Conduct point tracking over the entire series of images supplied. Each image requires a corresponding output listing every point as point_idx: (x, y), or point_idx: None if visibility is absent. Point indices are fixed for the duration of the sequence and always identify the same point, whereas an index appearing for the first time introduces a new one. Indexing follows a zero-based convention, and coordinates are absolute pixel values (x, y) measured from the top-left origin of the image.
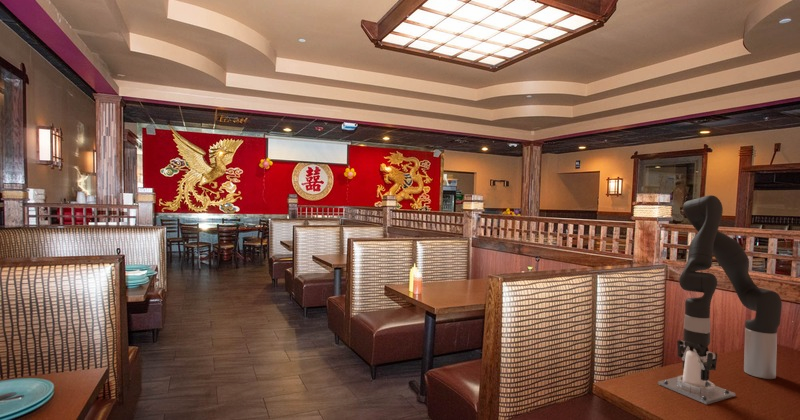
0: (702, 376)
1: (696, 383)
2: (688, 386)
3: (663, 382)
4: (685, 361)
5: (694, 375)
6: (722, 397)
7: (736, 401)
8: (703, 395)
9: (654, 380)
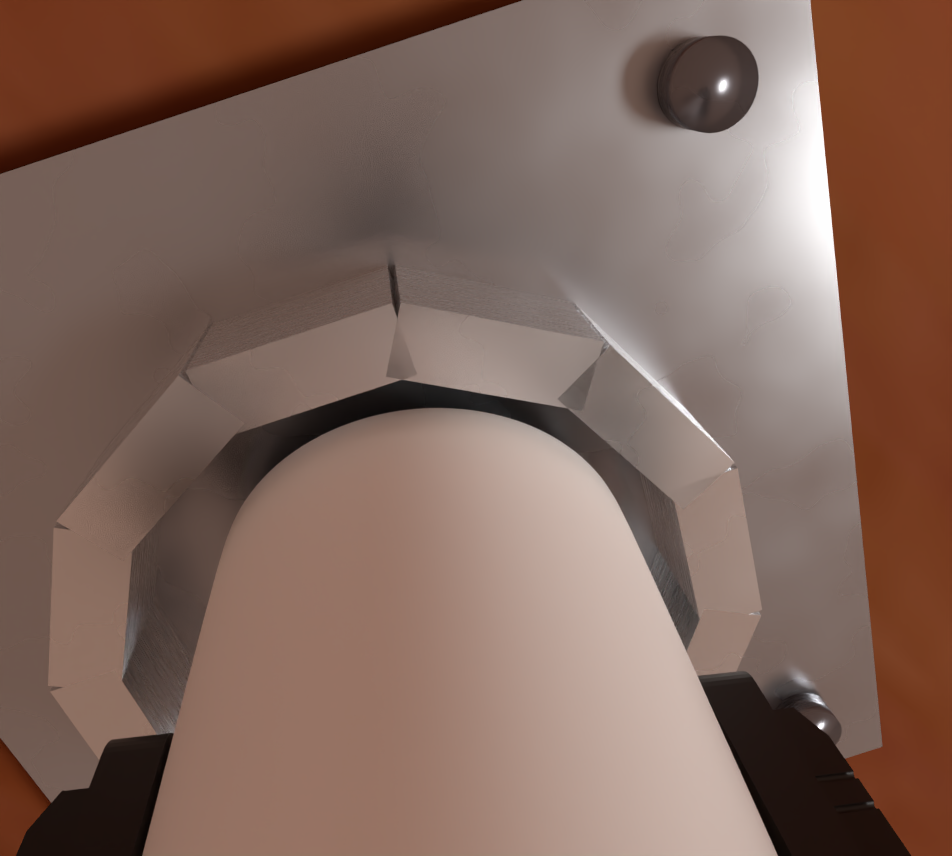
0: (82, 820)
1: (221, 563)
2: (239, 342)
3: (721, 26)
4: None
5: (224, 672)
6: (6, 732)
7: (2, 846)
8: (22, 459)
9: (948, 14)
